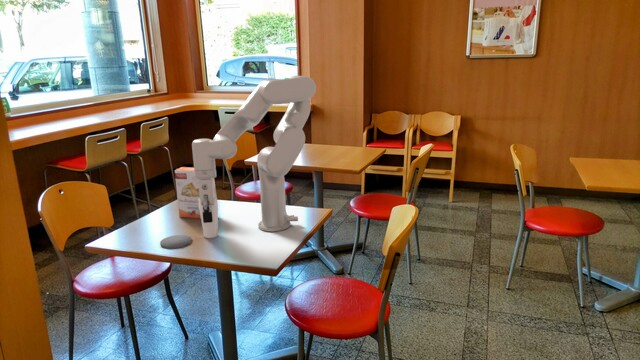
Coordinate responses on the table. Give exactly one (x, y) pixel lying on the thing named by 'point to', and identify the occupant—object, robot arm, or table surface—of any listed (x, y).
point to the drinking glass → (210, 228)
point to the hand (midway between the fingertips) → (209, 217)
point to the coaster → (175, 241)
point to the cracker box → (187, 192)
